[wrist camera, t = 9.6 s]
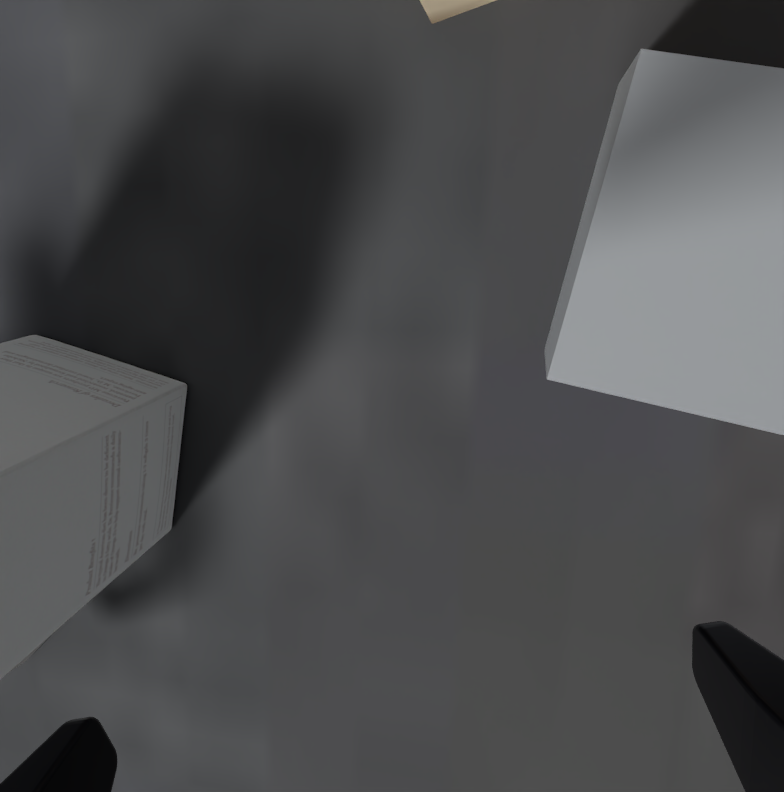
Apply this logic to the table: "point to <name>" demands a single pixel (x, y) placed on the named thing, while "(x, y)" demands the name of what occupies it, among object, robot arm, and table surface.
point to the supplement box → (77, 480)
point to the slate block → (682, 246)
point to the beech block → (449, 7)
